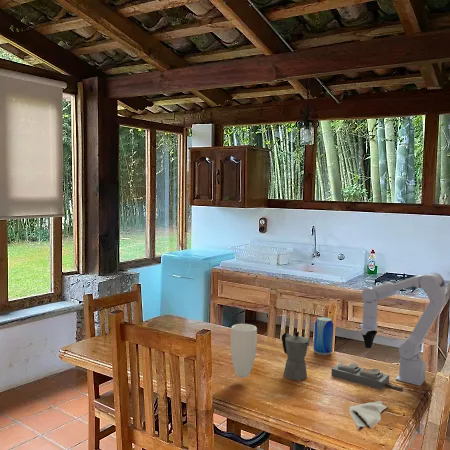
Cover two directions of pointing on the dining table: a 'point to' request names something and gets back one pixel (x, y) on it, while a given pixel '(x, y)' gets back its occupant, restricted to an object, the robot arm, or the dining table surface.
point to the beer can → (323, 336)
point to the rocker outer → (349, 365)
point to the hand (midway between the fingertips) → (368, 347)
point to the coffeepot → (295, 356)
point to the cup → (243, 348)
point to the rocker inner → (371, 371)
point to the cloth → (367, 413)
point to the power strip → (362, 377)
